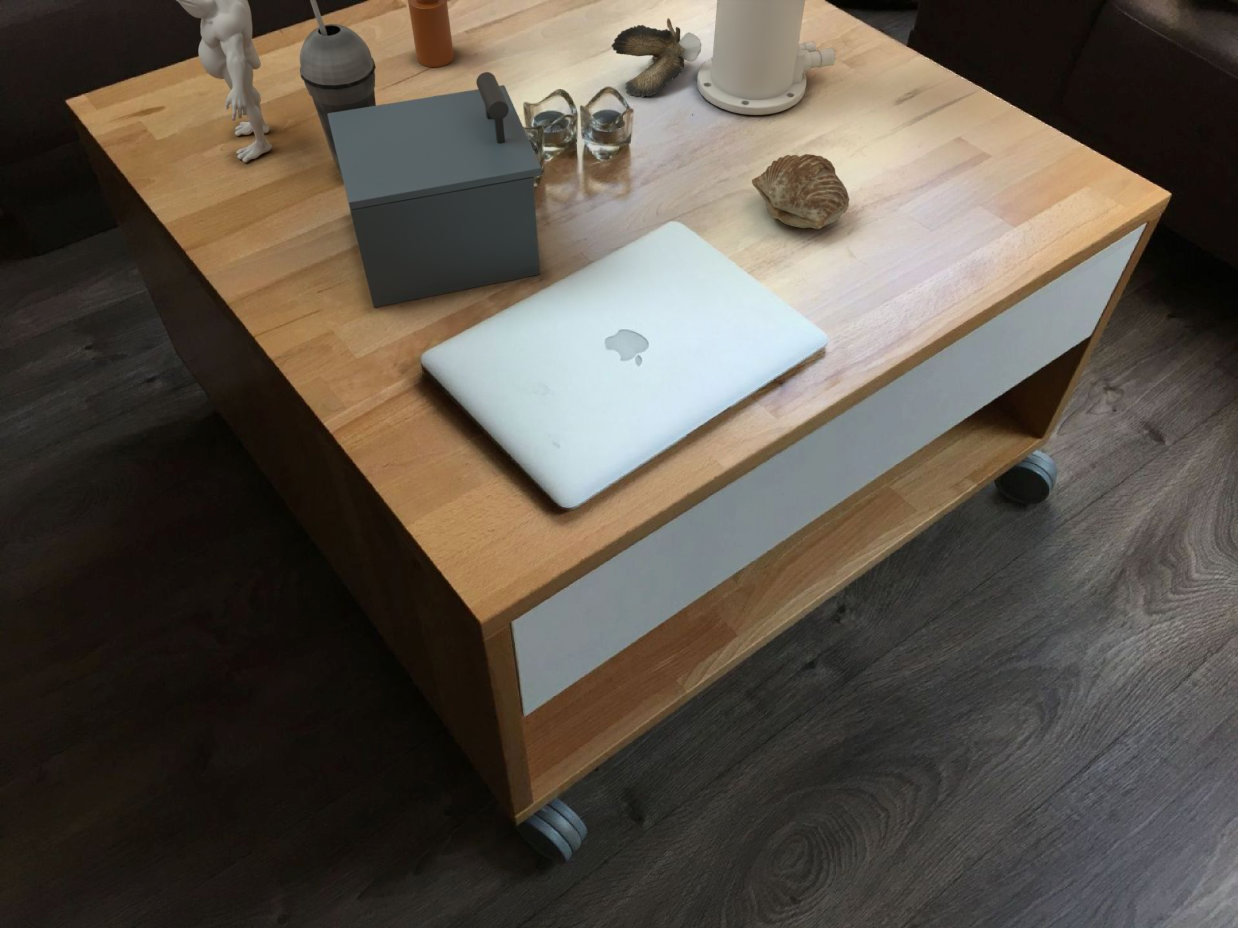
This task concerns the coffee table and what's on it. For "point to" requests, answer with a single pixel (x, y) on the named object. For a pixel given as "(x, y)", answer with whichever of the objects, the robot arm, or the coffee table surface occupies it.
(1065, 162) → the coffee table surface
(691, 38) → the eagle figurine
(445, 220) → the chest
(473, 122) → the lid
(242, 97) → the figurine
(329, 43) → the beverage cup
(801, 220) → the seashell
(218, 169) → the coffee table surface
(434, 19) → the spice bottle
